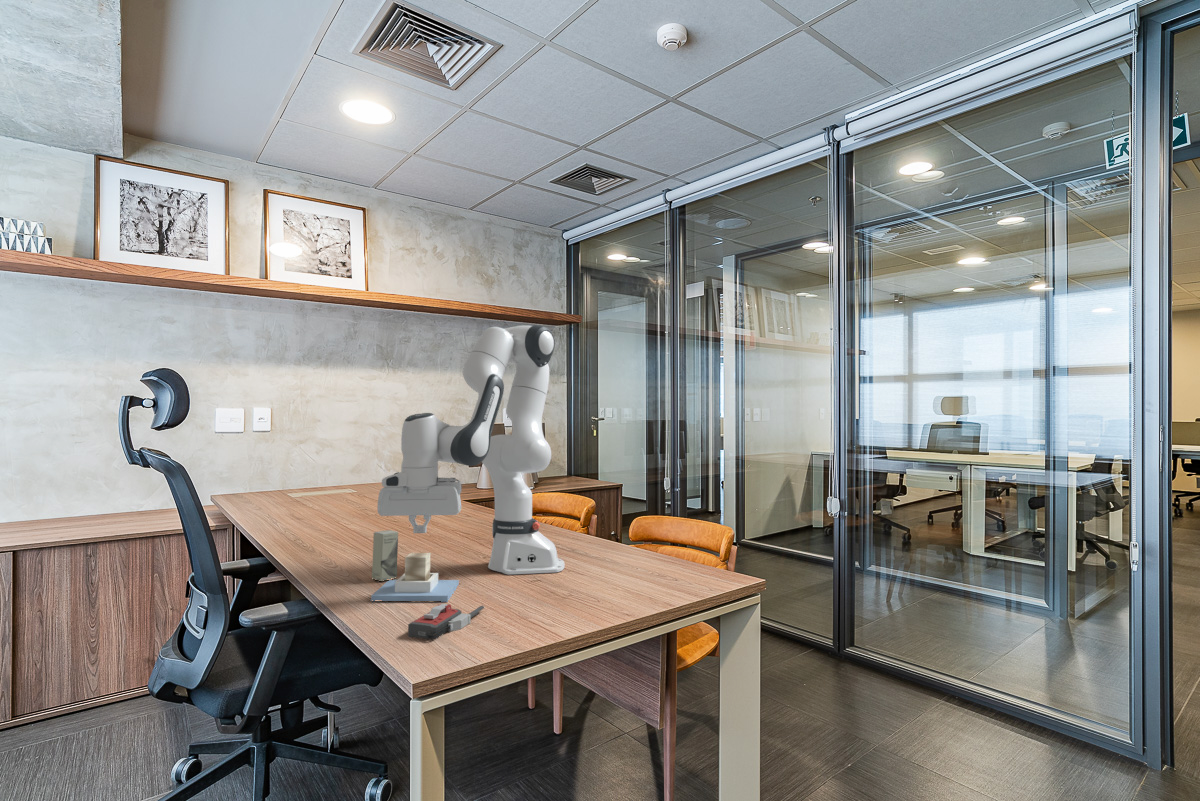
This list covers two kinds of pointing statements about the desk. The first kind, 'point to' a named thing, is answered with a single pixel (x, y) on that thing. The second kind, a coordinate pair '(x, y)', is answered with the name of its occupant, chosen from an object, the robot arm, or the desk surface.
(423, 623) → the walkie-talkie
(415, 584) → the base plate
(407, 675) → the desk surface
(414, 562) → the block
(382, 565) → the box
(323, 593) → the desk surface
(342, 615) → the desk surface
